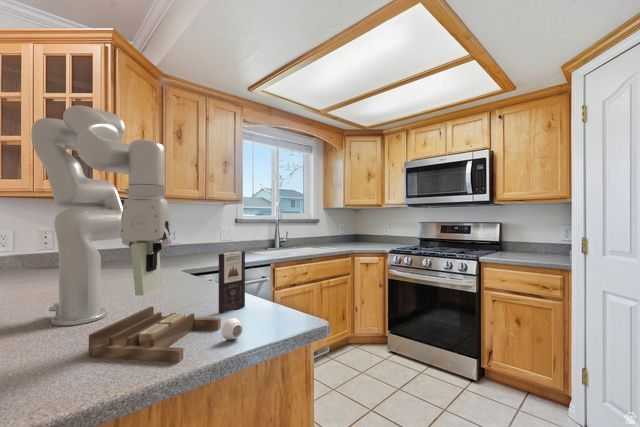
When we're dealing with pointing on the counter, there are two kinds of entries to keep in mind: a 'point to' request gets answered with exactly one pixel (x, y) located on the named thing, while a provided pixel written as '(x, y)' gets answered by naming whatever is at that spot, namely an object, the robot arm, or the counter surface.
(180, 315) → the offcut
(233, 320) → the white jar
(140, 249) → the sage green slab
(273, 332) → the counter surface
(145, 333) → the offcut
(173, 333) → the rack
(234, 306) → the chocolate bar
